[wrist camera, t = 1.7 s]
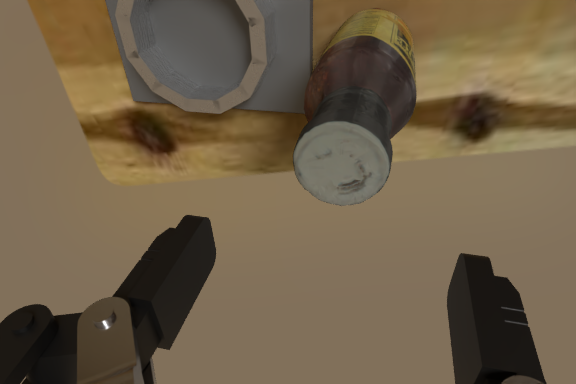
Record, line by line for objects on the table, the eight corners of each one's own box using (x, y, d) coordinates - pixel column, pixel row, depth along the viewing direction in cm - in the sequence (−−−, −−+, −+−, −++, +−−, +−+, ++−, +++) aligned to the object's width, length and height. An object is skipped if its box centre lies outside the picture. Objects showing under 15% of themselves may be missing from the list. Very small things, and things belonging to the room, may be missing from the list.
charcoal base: (313, -74, 28) (309, -73, 27) (312, 108, 36) (309, 114, 35) (95, -68, 32) (86, -67, 31) (140, 96, 40) (133, 100, 39)
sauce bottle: (407, 85, 33) (407, 247, 17) (333, 80, 34) (271, 228, 19) (420, -1, 29) (435, 110, 13) (336, -1, 30) (262, 98, 15)
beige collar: (271, -59, 28) (259, -56, 26) (279, 103, 35) (270, 118, 33) (120, -56, 31) (96, -53, 28) (156, 95, 38) (140, 107, 36)
